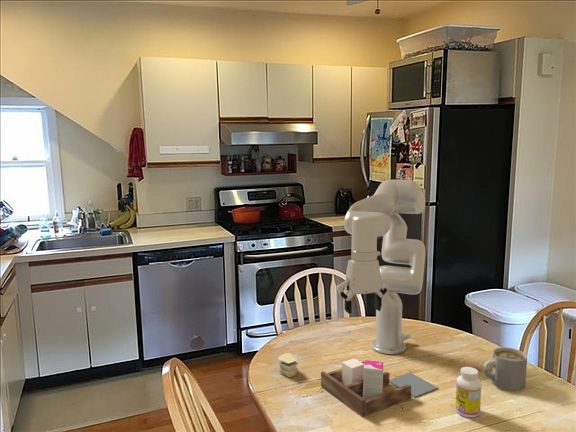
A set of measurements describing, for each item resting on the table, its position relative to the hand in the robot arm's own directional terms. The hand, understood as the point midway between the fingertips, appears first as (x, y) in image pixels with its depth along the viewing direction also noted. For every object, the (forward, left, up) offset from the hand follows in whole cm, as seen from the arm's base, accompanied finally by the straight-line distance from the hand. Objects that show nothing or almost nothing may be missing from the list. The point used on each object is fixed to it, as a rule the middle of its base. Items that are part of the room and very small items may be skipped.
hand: (363, 311), depth 147 cm
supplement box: (+1, +6, -27) cm, 27 cm away
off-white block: (+1, -4, -26) cm, 27 cm away
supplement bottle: (-18, +25, -27) cm, 41 cm away
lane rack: (-1, +1, -26) cm, 26 cm away
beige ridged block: (+13, -24, -27) cm, 38 cm away
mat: (-16, +6, -26) cm, 31 cm away
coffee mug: (-41, +20, -27) cm, 53 cm away
